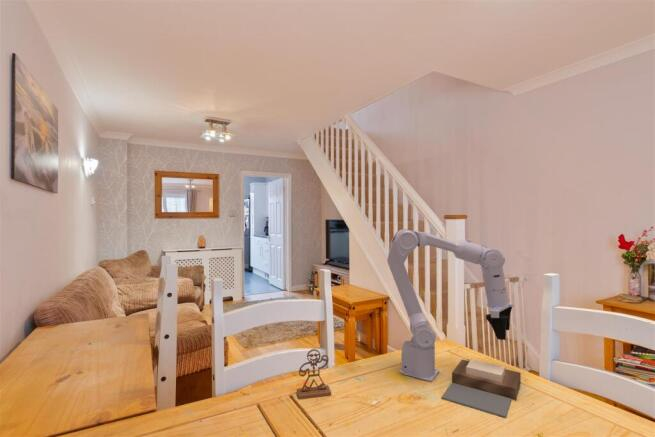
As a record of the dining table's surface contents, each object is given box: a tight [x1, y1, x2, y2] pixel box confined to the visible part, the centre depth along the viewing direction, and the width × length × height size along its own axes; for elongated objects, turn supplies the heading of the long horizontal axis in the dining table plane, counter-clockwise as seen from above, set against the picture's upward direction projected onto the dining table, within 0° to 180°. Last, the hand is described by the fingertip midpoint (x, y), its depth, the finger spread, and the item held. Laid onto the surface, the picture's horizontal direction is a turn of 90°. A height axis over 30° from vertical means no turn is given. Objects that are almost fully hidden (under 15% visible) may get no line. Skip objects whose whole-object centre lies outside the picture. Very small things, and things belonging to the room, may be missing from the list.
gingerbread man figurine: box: [296, 348, 332, 400], centre depth 91 cm, size 9×4×12 cm, turn 102°
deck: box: [451, 359, 522, 401], centre depth 96 cm, size 16×11×3 cm
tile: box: [466, 359, 506, 383], centre depth 95 cm, size 9×6×2 cm, turn 55°
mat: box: [441, 382, 512, 419], centre depth 87 cm, size 15×10×1 cm, turn 55°
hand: (503, 334), depth 99 cm, fingers open, 7 cm apart
